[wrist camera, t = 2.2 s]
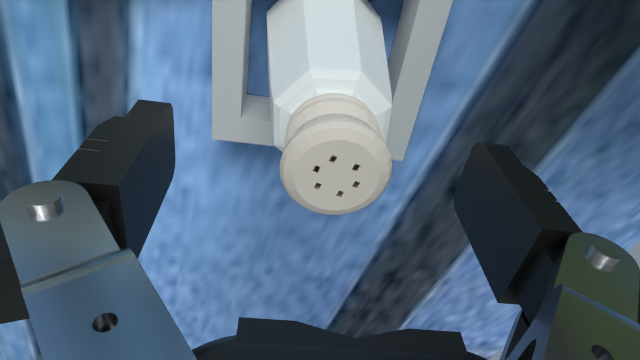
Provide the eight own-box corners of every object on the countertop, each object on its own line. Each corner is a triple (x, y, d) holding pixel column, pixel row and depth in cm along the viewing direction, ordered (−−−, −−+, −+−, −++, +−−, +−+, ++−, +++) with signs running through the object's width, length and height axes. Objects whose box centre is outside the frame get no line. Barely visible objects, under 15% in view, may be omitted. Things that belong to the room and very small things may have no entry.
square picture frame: (449, -58, 17) (468, -49, 15) (394, 135, 22) (402, 161, 20) (224, -97, 16) (212, -93, 14) (220, 114, 21) (211, 139, 19)
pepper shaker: (404, 7, 19) (495, 128, 10) (347, 109, 21) (377, 276, 13) (291, -53, 17) (274, 26, 8) (245, 65, 20) (196, 219, 11)
